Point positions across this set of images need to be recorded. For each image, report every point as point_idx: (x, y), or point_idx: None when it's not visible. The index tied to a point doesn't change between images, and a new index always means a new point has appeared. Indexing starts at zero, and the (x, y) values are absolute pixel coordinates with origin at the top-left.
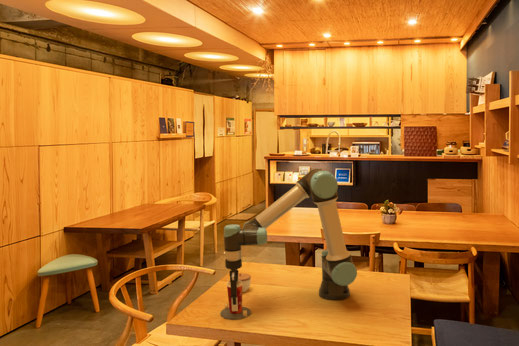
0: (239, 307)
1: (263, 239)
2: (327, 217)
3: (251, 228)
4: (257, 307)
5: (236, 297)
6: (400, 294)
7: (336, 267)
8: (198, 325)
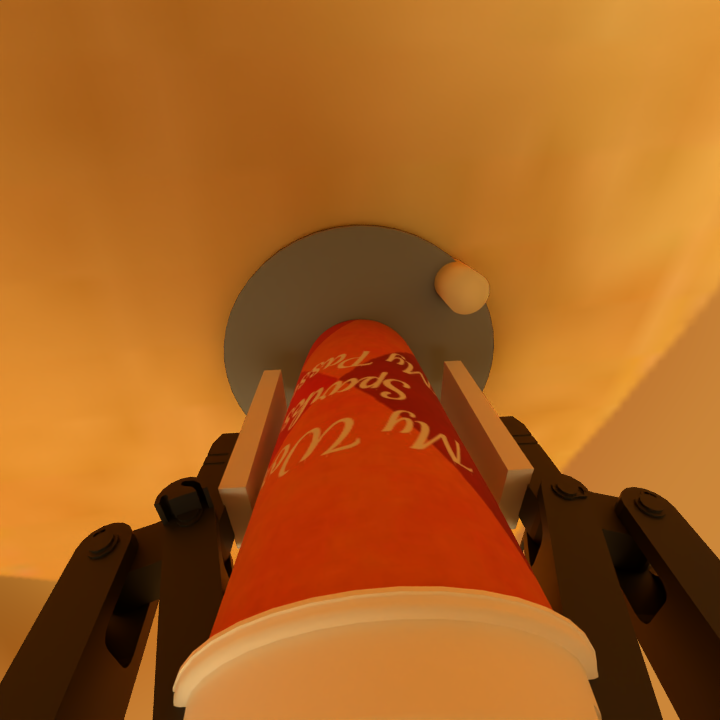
0: (415, 359)
1: None
2: None
3: None
4: (185, 154)
5: (562, 478)
6: None
7: None
8: (520, 526)
